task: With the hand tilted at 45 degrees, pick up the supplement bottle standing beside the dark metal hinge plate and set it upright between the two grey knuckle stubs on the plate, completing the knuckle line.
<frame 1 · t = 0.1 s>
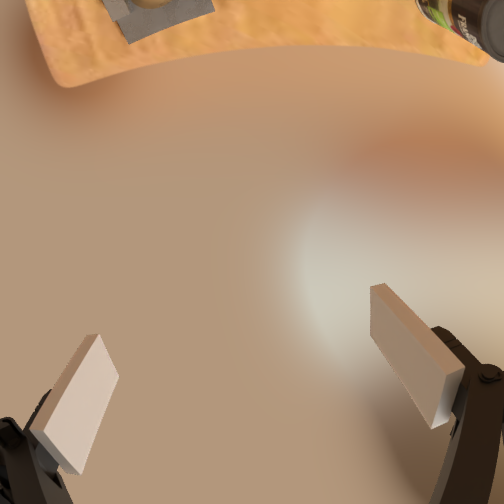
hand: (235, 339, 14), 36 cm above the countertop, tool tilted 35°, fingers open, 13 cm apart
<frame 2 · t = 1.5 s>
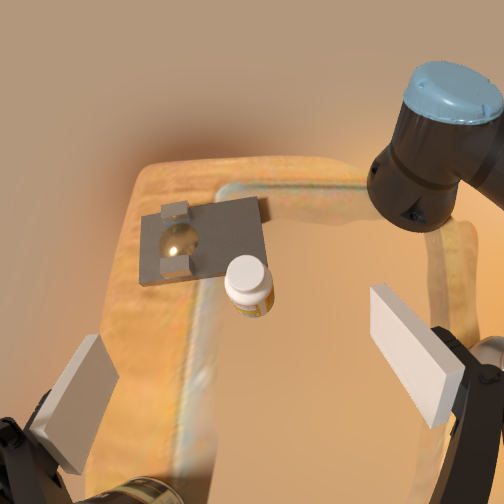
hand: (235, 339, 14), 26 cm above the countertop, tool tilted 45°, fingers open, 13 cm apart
hinge plate: (200, 243, 46), on the countertop
plastic bottle: (430, 380, 35), on the countertop
supplement bottle: (254, 299, 42), on the countertop
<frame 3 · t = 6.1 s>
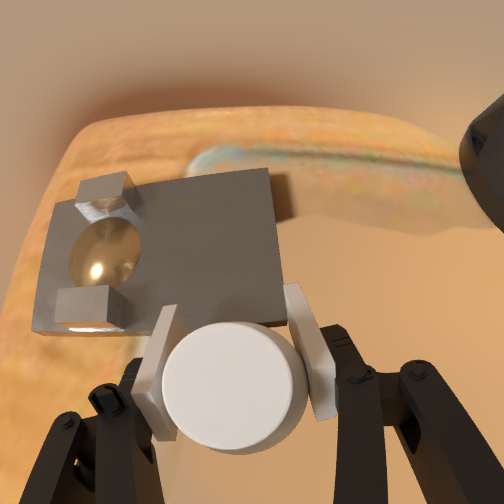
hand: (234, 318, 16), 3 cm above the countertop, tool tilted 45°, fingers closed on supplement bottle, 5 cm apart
hinge plate: (148, 258, 22), on the countertop
supplement bottle: (252, 391, 18), on the countertop, touching gripper
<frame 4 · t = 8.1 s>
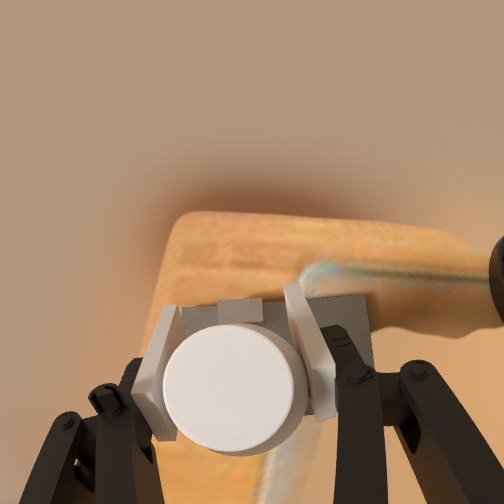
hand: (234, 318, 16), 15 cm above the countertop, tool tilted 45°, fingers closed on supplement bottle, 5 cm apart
hinge plate: (277, 360, 29), on the countertop
supplement bottle: (252, 392, 17), point 12 cm above the countertop, touching gripper
when the fingers open (6 cm above the countertop, at t = 10.3 s): supplement bottle drops 1 cm, resting on hinge plate.
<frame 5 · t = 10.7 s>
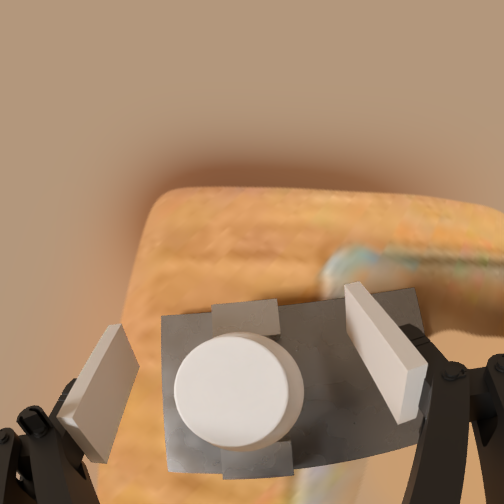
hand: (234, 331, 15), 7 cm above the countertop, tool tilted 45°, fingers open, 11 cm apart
hinge plate: (299, 387, 20), on the countertop
supplement bottle: (253, 393, 19), point 1 cm above the countertop, touching hinge plate
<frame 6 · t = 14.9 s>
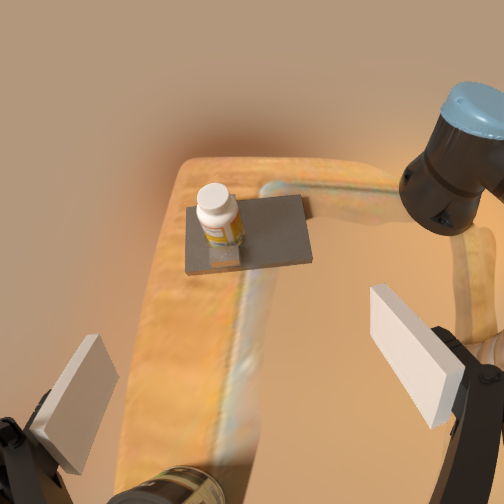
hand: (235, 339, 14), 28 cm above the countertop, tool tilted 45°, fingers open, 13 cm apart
hinge plate: (246, 235, 48), on the countertop
plastic bottle: (455, 370, 36), on the countertop
supplement bottle: (225, 234, 47), point 1 cm above the countertop, touching hinge plate
coffee can: (188, 498, 32), on the countertop
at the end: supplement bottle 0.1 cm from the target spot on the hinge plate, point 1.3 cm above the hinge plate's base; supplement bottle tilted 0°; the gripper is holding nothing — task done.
